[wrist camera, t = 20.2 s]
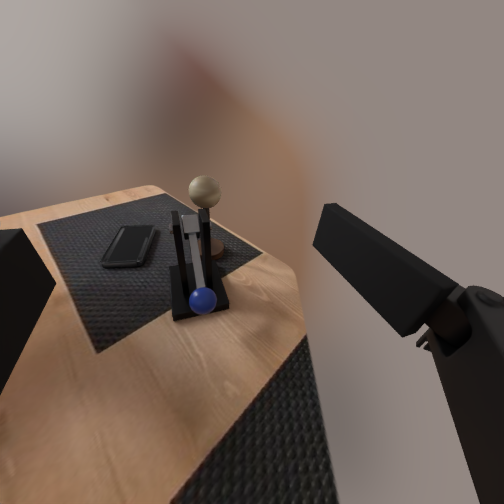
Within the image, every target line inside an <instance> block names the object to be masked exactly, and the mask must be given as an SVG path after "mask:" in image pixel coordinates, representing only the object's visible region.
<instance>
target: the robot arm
mask: <svg viewBox="0 0 504 504" xmlns="http://www.w3.org/2000/svg"><path fill="white" fill-rule="evenodd" d="M313 246H314V247H315V248H316V249H317V250H318V251H319V252H320V254H322V256H323V257H324V258H325V259H326V260H327V261H328V262H329V263H330V264H331V265H332V266H333V267H334V268H335V269H336V270H337V271H338V272H339V273H340V274H341V275H342V276H343V277H344V278H345V279H346V280H347V281H348V282H349V283H350V284H351V285H352V286H353V287H354V288H355V289H356V291H358V292H359V294H360V295H361V296H363V298H364V299H365V300H366V301H367V302H368V303H369V304H370V305H371V306H372V307H373V308H374V309H375V310H376V311H377V312H378V313H379V314H380V315H381V316H382V317H383V318H384V319H385V320H386V321H387V322H388V323H389V324H390V325H391V326H392V328H393V329H394V330H396V332H397V333H398V334H399V335H400V336H401V337H405V336H408V335H411V334H414V333H416V332H417V331H418V330H419V329H420V328H421V326H422V325H423V324H424V323H425V324H426V325H427V326H428V327H430V328H429V329H428V330H427V331H426V332H425V333H424V334H423V335H422V337H420V339H419V340H418V341H417V342H416V347H420V346H421V345H422V344H423V343H424V342H425V341H428V343H427V344H426V345H425V346H424V349H425V350H428V351H431V352H432V355H433V358H434V362H435V365H436V368H437V371H438V374H439V377H440V380H441V383H442V386H443V390H444V393H445V396H446V399H447V402H448V405H449V408H450V411H451V415H452V417H453V421H454V424H455V427H456V430H457V433H458V437H459V440H460V443H461V446H462V449H463V452H464V455H465V458H466V462H467V465H468V468H469V471H470V474H471V477H472V480H473V483H474V486H475V490H476V493H477V496H478V499H479V502H480V504H504V297H502V296H501V295H499V294H497V293H495V292H493V291H491V290H489V289H486V288H483V287H479V286H468V287H467V288H466V289H465V288H463V287H462V286H460V285H459V284H458V283H456V282H455V281H453V280H452V279H450V278H449V277H447V276H446V275H444V274H443V273H441V272H440V271H438V270H437V269H435V268H433V267H432V266H430V265H429V264H427V263H426V262H424V261H423V260H421V259H420V258H418V257H417V256H415V255H414V254H412V253H411V252H409V251H408V250H406V249H405V248H403V247H402V246H400V245H399V244H397V243H396V242H394V241H393V240H391V239H390V238H388V237H386V236H385V235H383V234H382V233H380V232H379V231H377V230H376V229H374V228H373V227H371V226H370V225H368V224H367V223H365V222H364V221H362V220H361V219H359V218H358V217H356V216H355V215H353V214H352V213H350V212H349V211H347V210H346V209H344V208H342V207H341V206H339V205H338V204H337V203H331V204H324V207H323V211H322V214H321V218H320V221H319V224H318V228H317V231H316V235H315V238H314V241H313ZM55 285H56V282H55V280H54V278H53V277H52V275H51V274H50V272H49V270H48V269H47V267H46V266H45V264H44V262H43V261H42V259H41V258H40V256H39V255H38V253H37V251H36V250H35V248H34V247H33V245H32V243H31V242H30V240H29V239H28V237H27V235H26V234H25V232H24V231H23V229H22V228H20V229H7V230H0V395H1V393H2V391H3V389H4V387H5V385H6V383H7V381H8V379H9V377H10V375H11V373H12V371H13V369H14V367H15V365H16V363H17V361H18V359H19V357H20V355H21V353H22V351H23V349H24V347H25V345H26V343H27V341H28V339H29V337H30V335H31V333H32V331H33V329H34V327H35V325H36V323H37V321H38V319H39V317H40V315H41V313H42V311H43V309H44V307H45V305H46V303H47V301H48V299H49V297H50V295H51V293H52V291H53V289H54V287H55Z"/></svg>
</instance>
